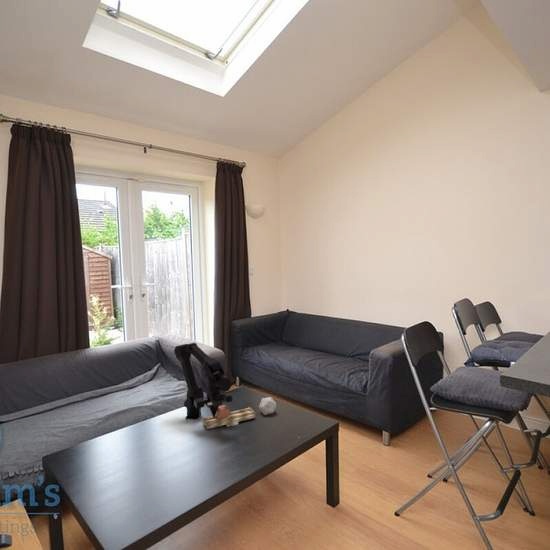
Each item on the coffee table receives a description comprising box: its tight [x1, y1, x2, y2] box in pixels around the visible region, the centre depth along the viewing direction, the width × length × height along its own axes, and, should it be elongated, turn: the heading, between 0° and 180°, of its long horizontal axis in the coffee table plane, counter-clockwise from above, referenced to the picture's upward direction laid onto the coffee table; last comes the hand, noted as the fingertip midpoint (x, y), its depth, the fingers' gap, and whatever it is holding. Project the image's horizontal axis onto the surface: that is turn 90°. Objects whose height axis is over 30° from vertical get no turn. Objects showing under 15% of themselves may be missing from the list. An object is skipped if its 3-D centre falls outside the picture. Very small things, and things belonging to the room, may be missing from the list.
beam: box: [202, 406, 256, 430], centre depth 187 cm, size 26×10×4 cm, turn 117°
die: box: [258, 396, 277, 416], centre depth 196 cm, size 8×9×10 cm
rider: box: [216, 404, 230, 419], centre depth 185 cm, size 5×6×5 cm
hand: (213, 416), depth 183 cm, fingers closed
